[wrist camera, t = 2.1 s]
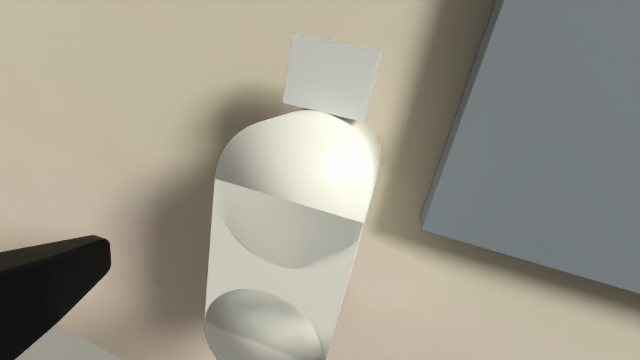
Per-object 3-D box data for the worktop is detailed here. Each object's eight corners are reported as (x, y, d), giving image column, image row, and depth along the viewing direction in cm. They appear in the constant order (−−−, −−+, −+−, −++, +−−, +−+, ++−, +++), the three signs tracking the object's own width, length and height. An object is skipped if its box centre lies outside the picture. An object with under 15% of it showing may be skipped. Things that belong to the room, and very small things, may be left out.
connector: (341, 305, 14) (310, 411, 10) (263, 278, 15) (201, 365, 11) (409, 60, 11) (411, 48, 6) (300, 39, 11) (226, 13, 7)
